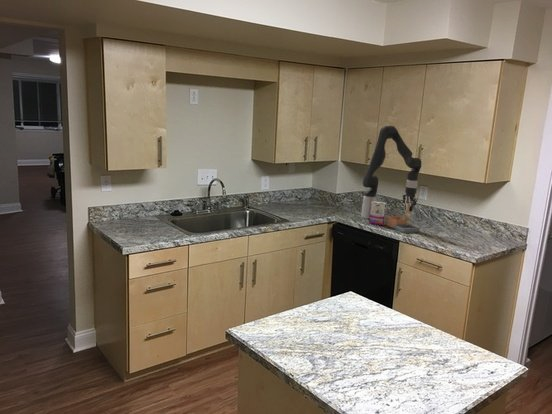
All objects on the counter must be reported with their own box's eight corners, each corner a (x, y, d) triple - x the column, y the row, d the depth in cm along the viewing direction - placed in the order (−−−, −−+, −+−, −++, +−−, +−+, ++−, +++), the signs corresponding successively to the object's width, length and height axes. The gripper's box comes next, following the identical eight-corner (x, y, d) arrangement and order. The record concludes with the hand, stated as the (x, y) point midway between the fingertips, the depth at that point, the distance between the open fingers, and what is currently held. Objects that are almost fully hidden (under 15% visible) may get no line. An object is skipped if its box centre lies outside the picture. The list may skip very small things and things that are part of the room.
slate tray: (393, 229, 325) (393, 225, 325) (409, 228, 331) (409, 224, 330) (403, 233, 316) (403, 228, 315) (419, 232, 321) (419, 227, 320)
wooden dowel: (403, 222, 323) (405, 202, 320) (407, 221, 325) (409, 202, 322) (406, 223, 319) (408, 203, 317) (411, 223, 321) (413, 203, 318)
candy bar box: (385, 224, 338) (387, 202, 334) (383, 225, 333) (386, 203, 330) (370, 222, 343) (372, 200, 339) (368, 223, 338) (370, 201, 335)
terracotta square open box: (386, 225, 336) (387, 216, 334) (397, 224, 340) (398, 216, 338) (395, 228, 327) (396, 219, 325) (406, 228, 331) (407, 219, 329)
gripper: (400, 184, 322) (397, 208, 325) (413, 188, 309) (410, 213, 312) (409, 184, 325) (406, 208, 328) (422, 188, 312) (419, 212, 315)
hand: (408, 210), depth 320 cm, fingers closed on wooden dowel, 4 cm apart
